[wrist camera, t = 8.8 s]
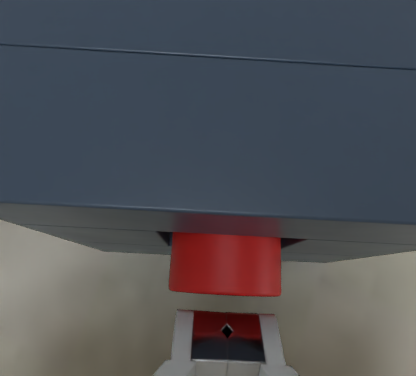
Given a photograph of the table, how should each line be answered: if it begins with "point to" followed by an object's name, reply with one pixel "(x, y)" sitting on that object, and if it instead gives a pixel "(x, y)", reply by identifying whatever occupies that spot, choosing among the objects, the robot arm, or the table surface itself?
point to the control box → (211, 123)
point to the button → (225, 264)
